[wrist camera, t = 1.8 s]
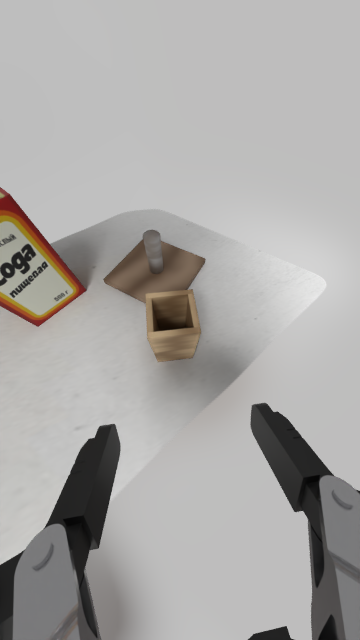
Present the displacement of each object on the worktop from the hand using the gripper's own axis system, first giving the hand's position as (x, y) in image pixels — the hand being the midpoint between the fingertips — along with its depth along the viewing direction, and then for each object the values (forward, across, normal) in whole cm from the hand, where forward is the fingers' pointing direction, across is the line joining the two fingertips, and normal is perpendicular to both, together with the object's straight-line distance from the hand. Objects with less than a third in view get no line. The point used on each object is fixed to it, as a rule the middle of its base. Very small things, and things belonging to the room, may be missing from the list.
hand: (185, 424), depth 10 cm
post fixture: (+27, +2, -8) cm, 28 cm away
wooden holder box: (+16, 0, +3) cm, 17 cm away
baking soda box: (+24, +20, -5) cm, 32 cm away
